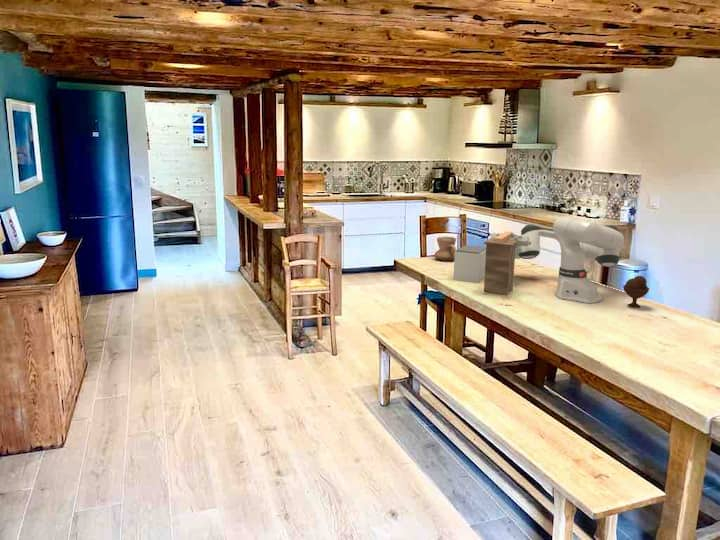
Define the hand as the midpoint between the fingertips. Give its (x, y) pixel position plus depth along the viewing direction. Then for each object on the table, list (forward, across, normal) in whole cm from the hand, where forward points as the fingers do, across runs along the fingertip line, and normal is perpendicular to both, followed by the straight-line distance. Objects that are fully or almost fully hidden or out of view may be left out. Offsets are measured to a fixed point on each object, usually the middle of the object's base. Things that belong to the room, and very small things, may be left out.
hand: (507, 234), depth 313 cm
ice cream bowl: (-5, -64, -29) cm, 70 cm away
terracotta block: (+6, 0, -6) cm, 8 cm away
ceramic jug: (-55, +48, -1) cm, 73 cm away
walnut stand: (-3, 0, -30) cm, 31 cm away
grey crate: (-21, +21, -20) cm, 36 cm away
